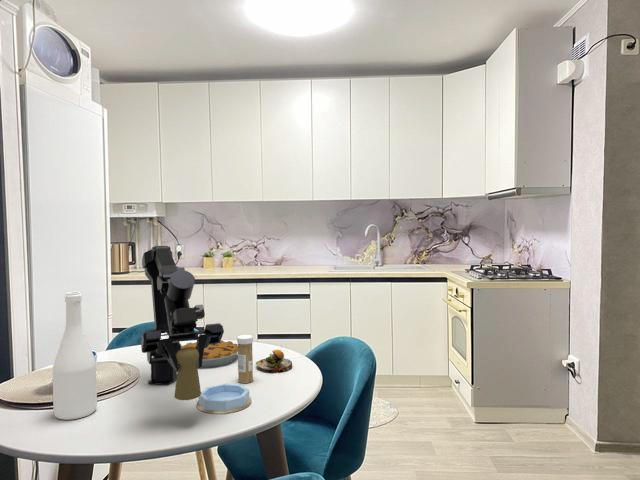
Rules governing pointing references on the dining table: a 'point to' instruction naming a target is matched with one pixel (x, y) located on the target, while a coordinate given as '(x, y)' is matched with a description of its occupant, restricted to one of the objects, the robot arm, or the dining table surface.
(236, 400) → the bowl
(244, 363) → the sprinkles bottle
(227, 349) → the pie
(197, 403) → the placemat
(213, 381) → the dining table surface
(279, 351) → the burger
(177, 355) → the cork
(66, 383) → the wine bottle
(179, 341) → the robot arm
